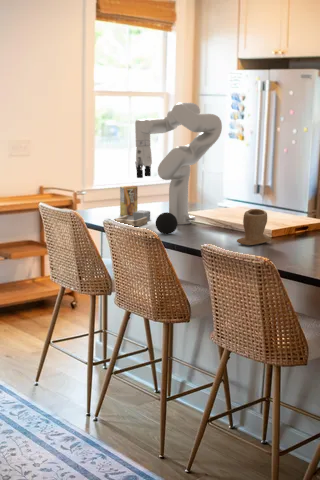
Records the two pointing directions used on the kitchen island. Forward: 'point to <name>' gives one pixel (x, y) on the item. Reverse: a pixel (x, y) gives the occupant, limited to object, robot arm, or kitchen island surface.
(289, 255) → the kitchen island surface
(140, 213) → the crate
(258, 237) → the stone cup
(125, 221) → the bay
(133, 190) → the candy box
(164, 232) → the speaker
